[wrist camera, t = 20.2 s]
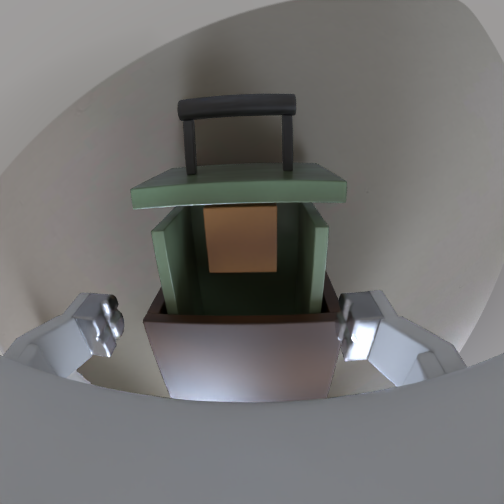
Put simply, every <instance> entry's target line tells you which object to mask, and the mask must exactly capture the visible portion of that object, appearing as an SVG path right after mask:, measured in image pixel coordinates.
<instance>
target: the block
mask: <svg viewBox="0 0 504 504" xmlns="http://www.w3.org/2000/svg"><path fill="white" fill-rule="evenodd" d="M203 216H204V227H205V237H206V247H207V256H208V265H209V272H210V273H244V272H277V204H276V203H239V204H212V205H205V206H204V208H203Z"/></svg>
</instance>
